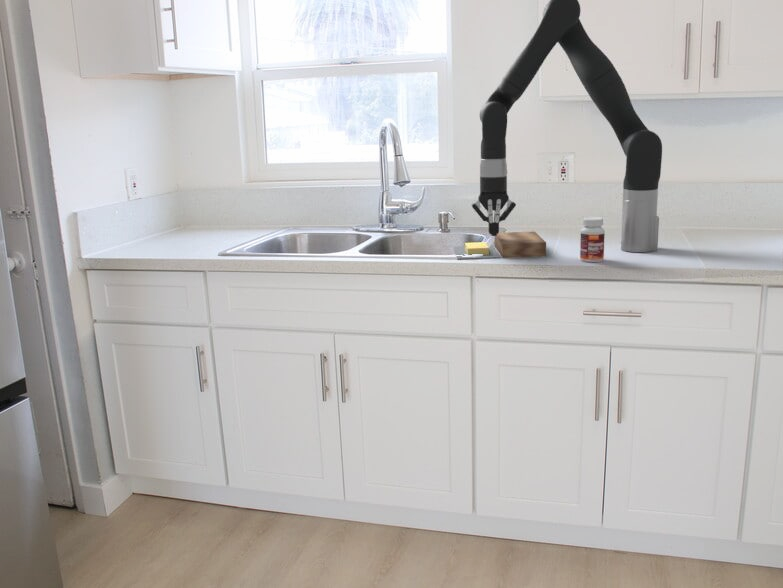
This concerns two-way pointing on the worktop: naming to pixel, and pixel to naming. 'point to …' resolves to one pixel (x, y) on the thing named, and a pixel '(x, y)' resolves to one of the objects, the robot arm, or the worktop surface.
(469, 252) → the yellow rectangular block
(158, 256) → the worktop surface
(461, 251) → the mat
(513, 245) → the brown wooden block
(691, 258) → the worktop surface
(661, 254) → the worktop surface
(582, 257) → the pill bottle
